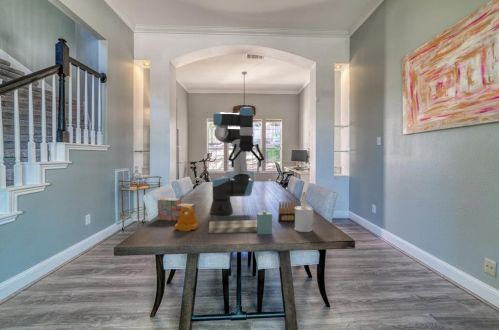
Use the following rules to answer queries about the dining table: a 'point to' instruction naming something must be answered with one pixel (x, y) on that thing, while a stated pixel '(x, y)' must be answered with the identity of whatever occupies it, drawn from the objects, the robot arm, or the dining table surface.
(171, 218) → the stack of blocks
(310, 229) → the white smoke grenade
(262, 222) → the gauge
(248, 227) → the board
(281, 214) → the ammunition clip
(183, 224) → the orange bell-shaped figure
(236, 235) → the dining table surface
